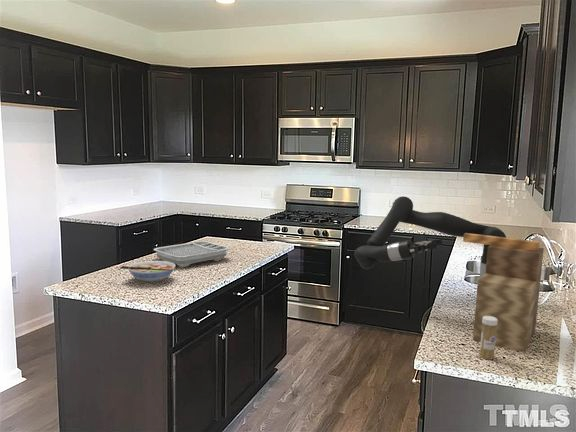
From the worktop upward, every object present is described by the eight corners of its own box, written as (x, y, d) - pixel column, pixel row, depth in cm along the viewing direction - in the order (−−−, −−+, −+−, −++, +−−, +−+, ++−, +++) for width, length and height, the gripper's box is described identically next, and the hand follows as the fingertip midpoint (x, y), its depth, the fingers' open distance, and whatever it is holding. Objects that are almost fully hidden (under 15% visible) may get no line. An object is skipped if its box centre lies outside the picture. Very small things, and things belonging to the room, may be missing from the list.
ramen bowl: (184, 275, 243) (184, 260, 242) (168, 288, 221) (168, 271, 219) (137, 273, 246) (136, 258, 244) (117, 286, 223) (116, 269, 222)
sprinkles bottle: (488, 361, 152) (492, 321, 150) (476, 355, 156) (479, 316, 154) (497, 358, 155) (500, 318, 153) (484, 352, 159) (488, 314, 157)
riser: (472, 339, 169) (480, 252, 165) (487, 320, 189) (494, 242, 184) (525, 352, 160) (534, 259, 155) (535, 330, 179) (543, 248, 175)
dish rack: (149, 260, 275) (149, 246, 274) (203, 251, 300) (203, 239, 299) (178, 271, 252) (177, 256, 251) (233, 261, 277) (233, 248, 276)
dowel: (463, 241, 184) (463, 233, 183) (465, 240, 186) (465, 232, 186) (537, 251, 169) (538, 242, 169) (539, 249, 172) (539, 241, 171)
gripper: (393, 244, 191) (432, 236, 183) (403, 239, 203) (441, 231, 195) (397, 262, 191) (437, 255, 182) (408, 256, 203) (445, 249, 195)
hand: (439, 243), depth 189 cm, fingers open, 8 cm apart
